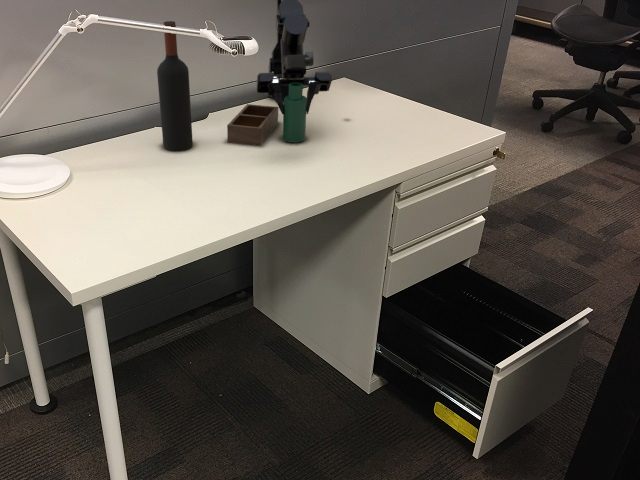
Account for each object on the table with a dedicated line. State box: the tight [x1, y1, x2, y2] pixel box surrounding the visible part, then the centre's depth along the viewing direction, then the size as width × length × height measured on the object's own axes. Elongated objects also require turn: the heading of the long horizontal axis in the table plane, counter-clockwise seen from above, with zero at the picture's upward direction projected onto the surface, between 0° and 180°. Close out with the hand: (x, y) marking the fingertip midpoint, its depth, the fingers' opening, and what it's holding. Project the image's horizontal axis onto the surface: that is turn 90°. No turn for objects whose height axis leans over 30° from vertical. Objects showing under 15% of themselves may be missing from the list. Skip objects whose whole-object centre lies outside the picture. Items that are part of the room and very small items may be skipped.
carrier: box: [226, 103, 279, 147], centre depth 178 cm, size 17×9×5 cm, turn 162°
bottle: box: [282, 82, 307, 143], centre depth 170 cm, size 6×6×14 cm
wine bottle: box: [156, 20, 194, 153], centre depth 163 cm, size 8×8×30 cm
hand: (295, 113), depth 169 cm, fingers closed on bottle, 6 cm apart
